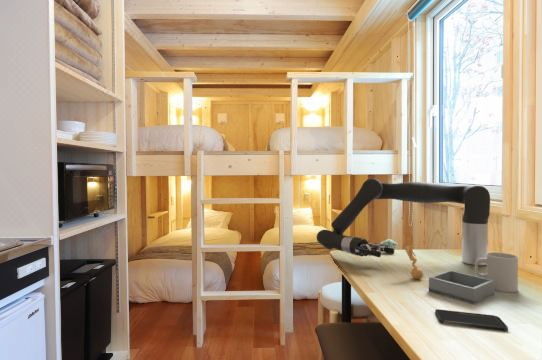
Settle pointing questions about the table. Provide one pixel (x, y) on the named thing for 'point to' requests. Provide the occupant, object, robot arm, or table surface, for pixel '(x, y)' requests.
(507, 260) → the mug
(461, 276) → the tote
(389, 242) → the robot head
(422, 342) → the table surface
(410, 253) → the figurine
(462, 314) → the phone
